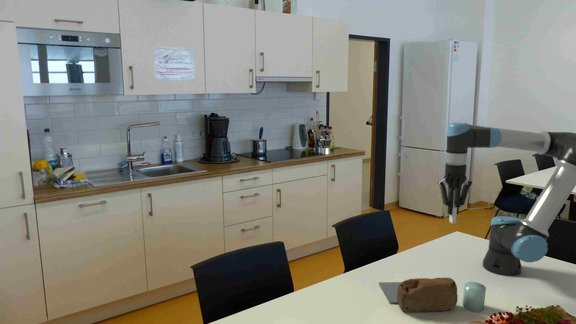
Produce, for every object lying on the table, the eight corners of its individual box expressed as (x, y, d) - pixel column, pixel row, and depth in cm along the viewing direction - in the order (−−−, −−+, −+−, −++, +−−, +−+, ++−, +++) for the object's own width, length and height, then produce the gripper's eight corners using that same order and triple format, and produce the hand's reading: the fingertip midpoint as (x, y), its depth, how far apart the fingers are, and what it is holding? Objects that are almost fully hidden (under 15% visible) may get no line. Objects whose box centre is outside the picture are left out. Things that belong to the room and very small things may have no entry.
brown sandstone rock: (456, 312, 151) (401, 315, 150) (447, 299, 158) (394, 302, 157) (460, 285, 148) (403, 287, 147) (450, 273, 155) (396, 275, 154)
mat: (420, 283, 173) (420, 281, 173) (435, 303, 157) (435, 301, 157) (378, 283, 172) (378, 282, 172) (389, 303, 156) (389, 302, 156)
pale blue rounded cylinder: (478, 302, 158) (479, 281, 157) (487, 311, 151) (489, 290, 150) (459, 302, 158) (461, 281, 156) (468, 312, 151) (470, 291, 150)
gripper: (467, 161, 169) (463, 218, 173) (435, 162, 168) (432, 220, 172) (477, 164, 161) (473, 224, 165) (443, 165, 160) (440, 226, 164)
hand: (452, 222), depth 169 cm, fingers closed
